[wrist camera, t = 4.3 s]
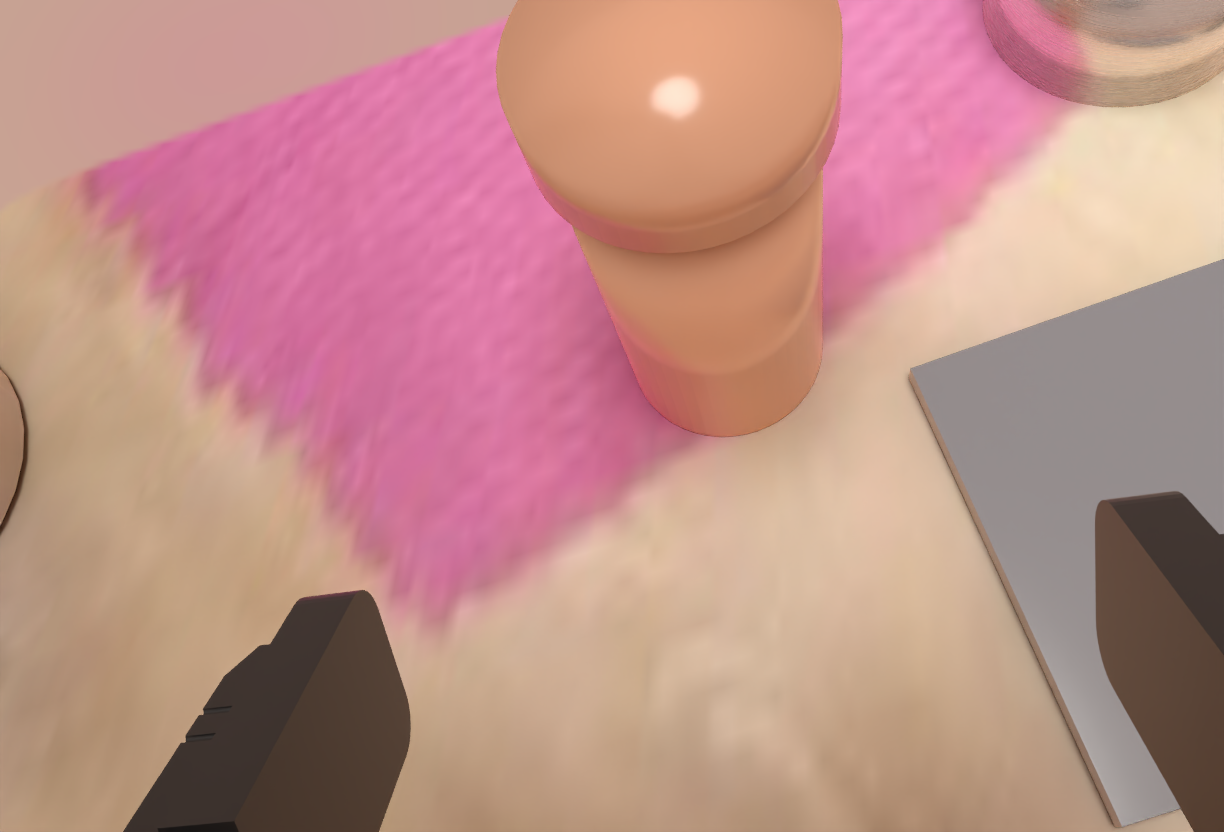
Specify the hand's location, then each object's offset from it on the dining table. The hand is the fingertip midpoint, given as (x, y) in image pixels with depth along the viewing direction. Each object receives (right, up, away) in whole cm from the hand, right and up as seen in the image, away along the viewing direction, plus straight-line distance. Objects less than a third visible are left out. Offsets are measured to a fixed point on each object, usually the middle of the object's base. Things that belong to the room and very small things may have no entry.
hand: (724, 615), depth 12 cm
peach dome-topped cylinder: (+2, +4, +16) cm, 17 cm away
